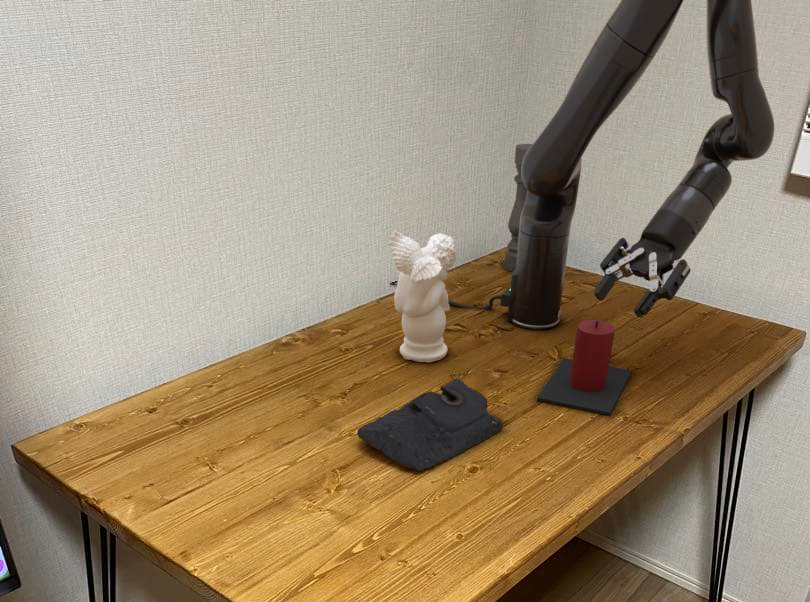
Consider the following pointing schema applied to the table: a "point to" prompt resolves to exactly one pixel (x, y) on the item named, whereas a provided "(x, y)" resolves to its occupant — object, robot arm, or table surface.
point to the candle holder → (516, 209)
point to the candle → (591, 355)
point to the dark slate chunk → (433, 427)
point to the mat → (596, 401)
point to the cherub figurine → (422, 294)
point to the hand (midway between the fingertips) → (617, 306)
